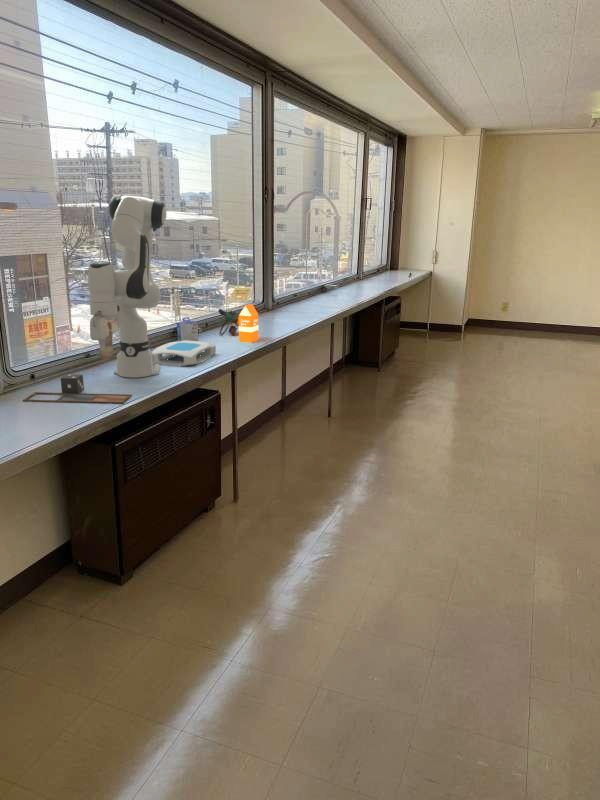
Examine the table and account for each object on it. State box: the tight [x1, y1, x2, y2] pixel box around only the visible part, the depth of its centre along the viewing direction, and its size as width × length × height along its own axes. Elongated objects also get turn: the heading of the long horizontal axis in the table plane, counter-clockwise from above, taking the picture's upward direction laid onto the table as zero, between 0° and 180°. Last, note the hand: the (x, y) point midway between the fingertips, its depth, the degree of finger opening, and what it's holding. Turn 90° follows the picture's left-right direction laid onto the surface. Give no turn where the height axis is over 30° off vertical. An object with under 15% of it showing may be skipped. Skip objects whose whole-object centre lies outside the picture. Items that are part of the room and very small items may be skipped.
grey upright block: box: [176, 316, 199, 342], centre depth 307 cm, size 10×6×14 cm, turn 124°
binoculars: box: [217, 308, 239, 337], centre depth 337 cm, size 14×14×15 cm
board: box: [22, 391, 133, 405], centre depth 217 cm, size 10×36×1 cm, turn 89°
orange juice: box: [238, 303, 259, 344], centre depth 320 cm, size 8×9×20 cm
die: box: [60, 373, 85, 393], centre depth 224 cm, size 6×6×6 cm
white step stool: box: [151, 340, 217, 367], centre depth 279 cm, size 21×28×6 cm
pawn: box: [99, 322, 114, 361], centre depth 210 cm, size 5×5×14 cm
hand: (106, 348), depth 211 cm, fingers closed on pawn, 4 cm apart
